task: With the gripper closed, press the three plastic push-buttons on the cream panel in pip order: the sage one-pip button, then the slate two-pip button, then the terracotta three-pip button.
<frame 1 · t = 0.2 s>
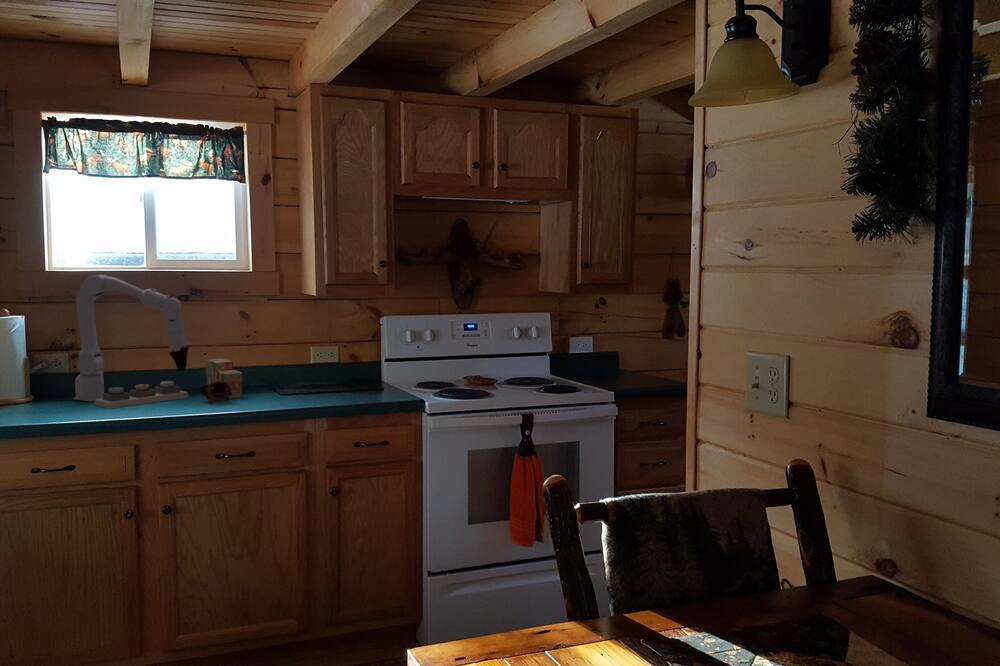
hand: (182, 369, 285), 10 cm above the kitchen counter, tool pointing down, fingers open, 7 cm apart
three pip button: (142, 387, 278), point 5 cm above the kitchen counter, slide at 0.0 cm
button panel: (142, 401, 278), on the kitchen counter
one pip button: (167, 384, 285), point 5 cm above the kitchen counter, slide at 0.0 cm
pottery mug: (216, 402, 278), on the kitchen counter
stack of blocks: (224, 395, 294), on the kitchen counter
two pip button: (116, 390, 271), point 5 cm above the kitchen counter, slide at 0.0 cm
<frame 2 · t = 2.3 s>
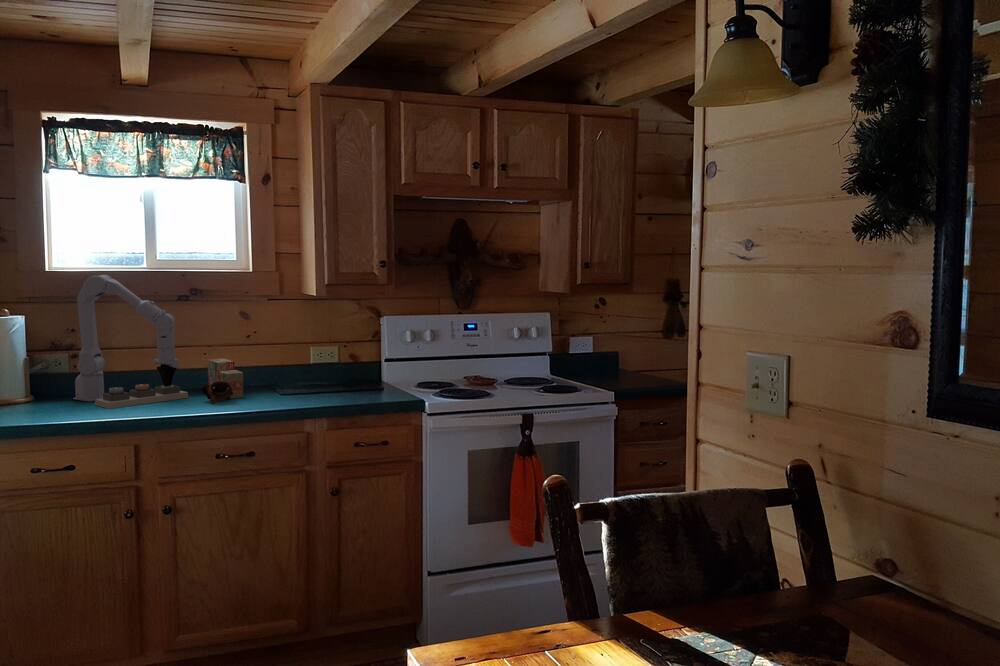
hand: (167, 385, 285), 4 cm above the kitchen counter, tool pointing down, fingers closed, pressing on one pip button
one pip button: (167, 387, 285), point 4 cm above the kitchen counter, slide at 1.4 cm, touching gripper
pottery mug: (217, 402, 279), on the kitchen counter, touching stack of blocks
stack of blocks: (225, 395, 294), on the kitchen counter, touching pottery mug
everything else where it was.
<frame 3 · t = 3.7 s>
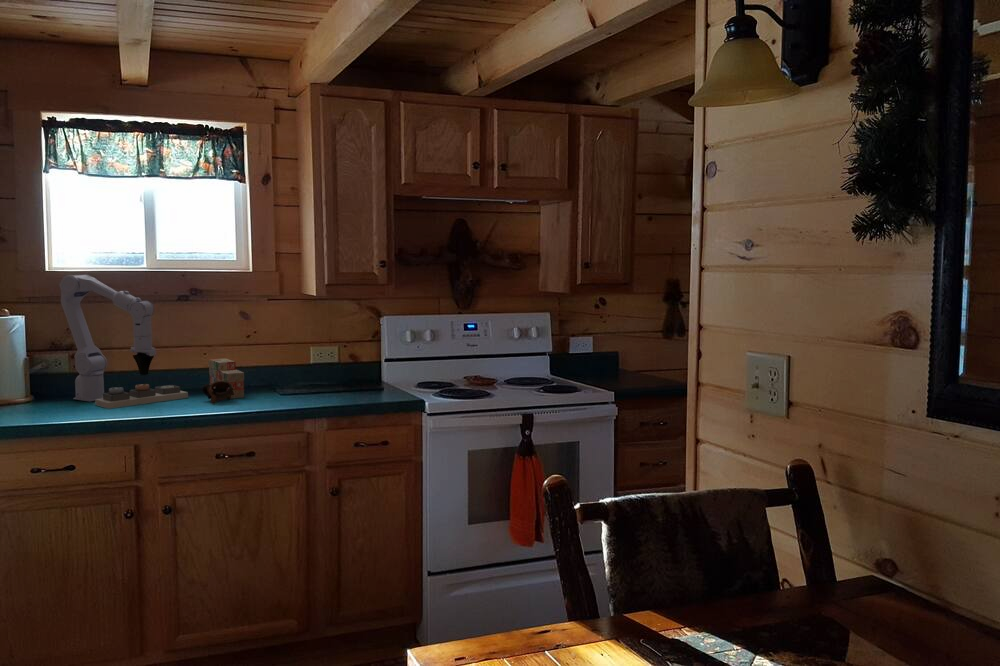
hand: (143, 374, 278), 9 cm above the kitchen counter, tool pointing down, fingers closed
one pip button: (167, 388, 285), point 3 cm above the kitchen counter, slide at 1.7 cm
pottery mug: (218, 402, 279), on the kitchen counter
stack of blocks: (226, 394, 294), on the kitchen counter
everything else where it was.
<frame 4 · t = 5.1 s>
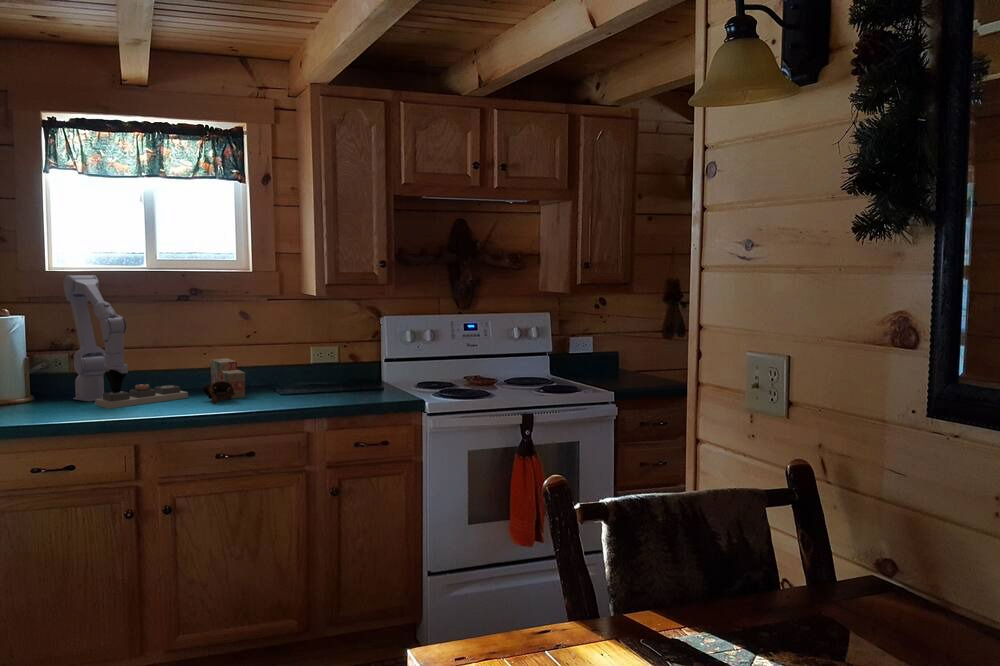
hand: (116, 392, 271), 4 cm above the kitchen counter, tool pointing down, fingers closed, pressing on two pip button
two pip button: (116, 394, 271), point 4 cm above the kitchen counter, slide at 1.4 cm, touching gripper
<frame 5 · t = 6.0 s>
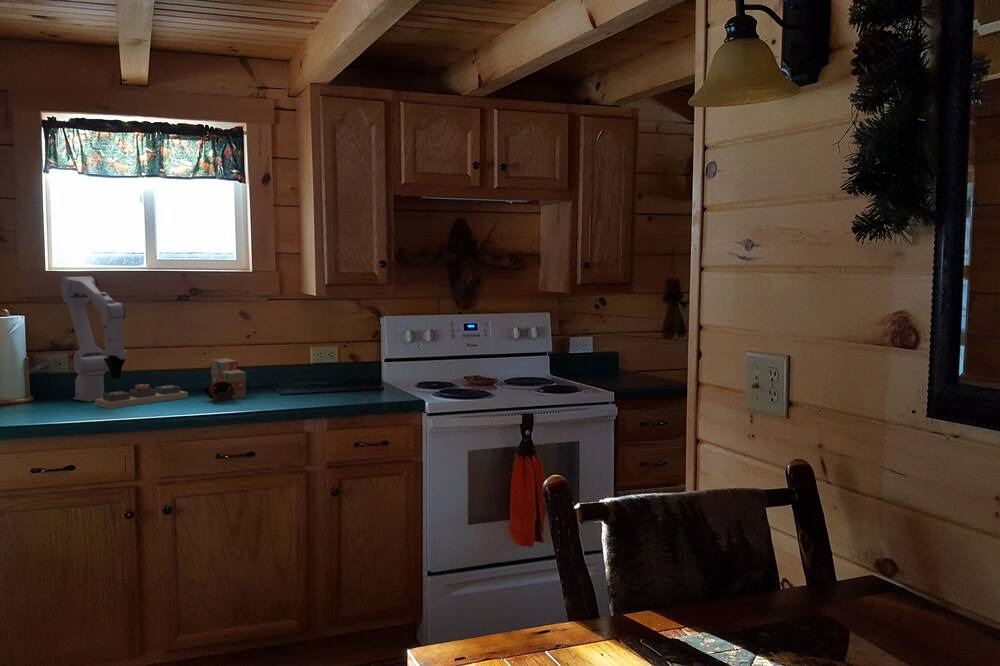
hand: (115, 378, 271), 9 cm above the kitchen counter, tool pointing down, fingers closed
two pip button: (116, 395, 271), point 3 cm above the kitchen counter, slide at 1.7 cm
everything else where it was.
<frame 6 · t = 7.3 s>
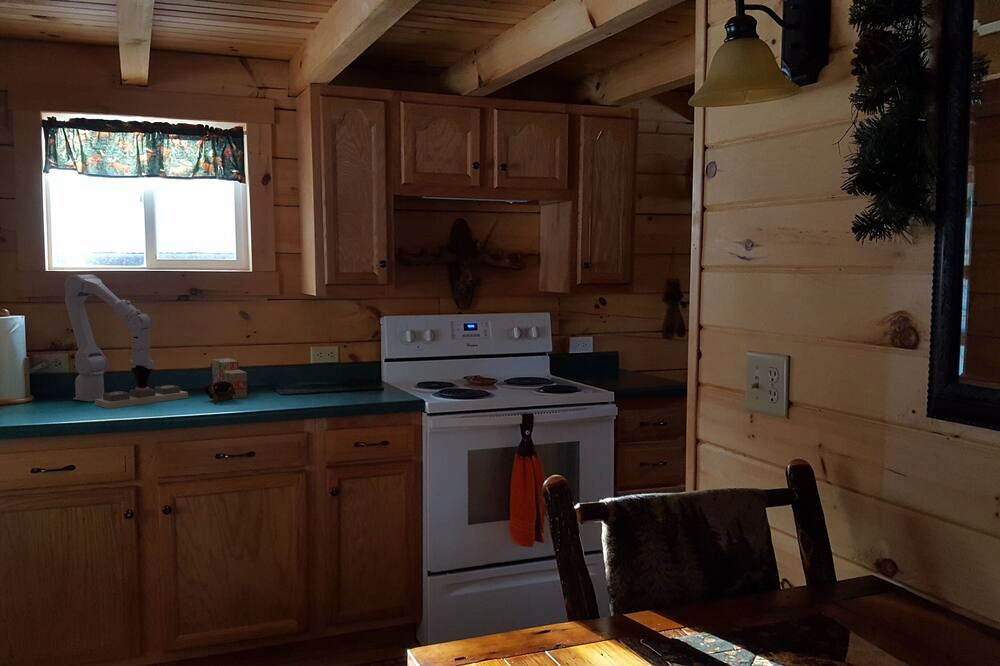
hand: (142, 387, 278), 5 cm above the kitchen counter, tool pointing down, fingers closed, pressing on three pip button
three pip button: (142, 389, 278), point 4 cm above the kitchen counter, slide at 0.9 cm, touching gripper
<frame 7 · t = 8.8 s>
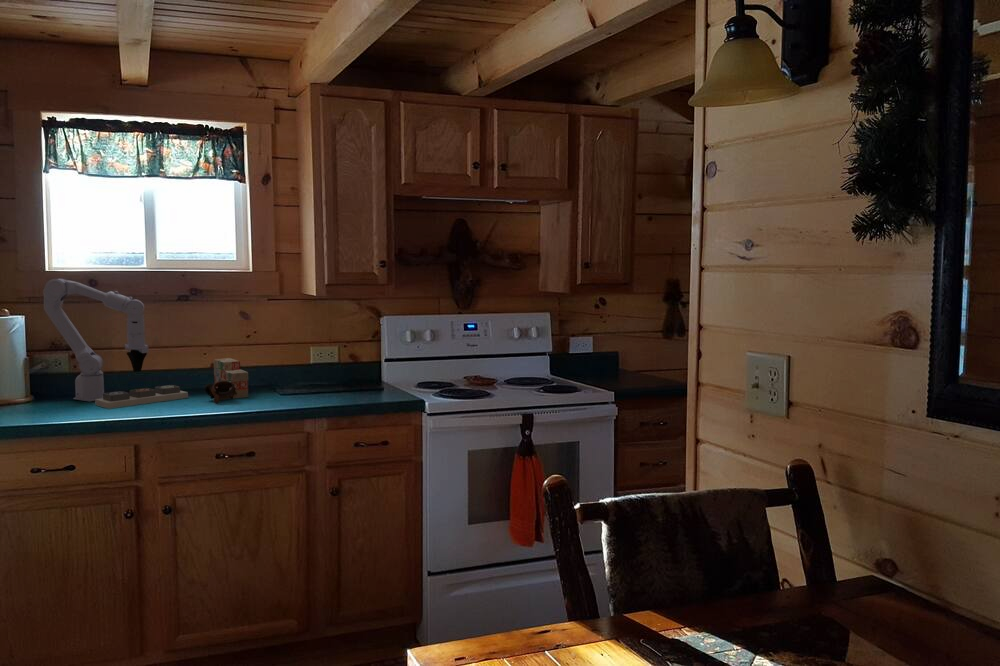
hand: (137, 371, 285), 9 cm above the kitchen counter, tool pointing down, fingers closed
three pip button: (142, 391, 278), point 3 cm above the kitchen counter, slide at 1.7 cm
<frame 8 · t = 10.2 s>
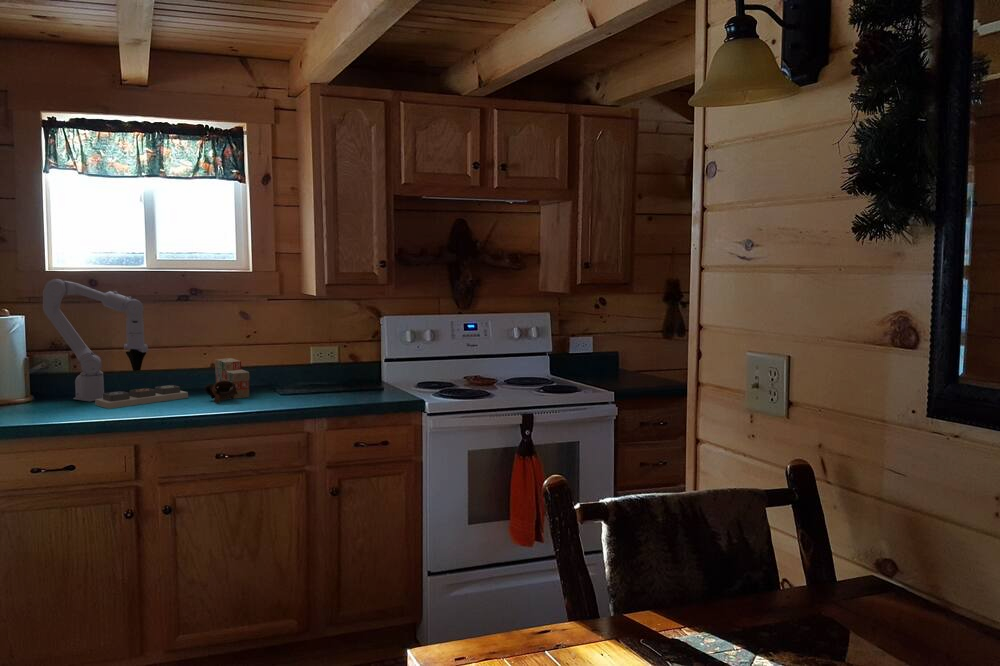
hand: (136, 370, 287), 9 cm above the kitchen counter, tool pointing down, fingers closed
at the end: one pip button slide at 1.7 cm; two pip button slide at 1.7 cm; three pip button slide at 1.7 cm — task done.
